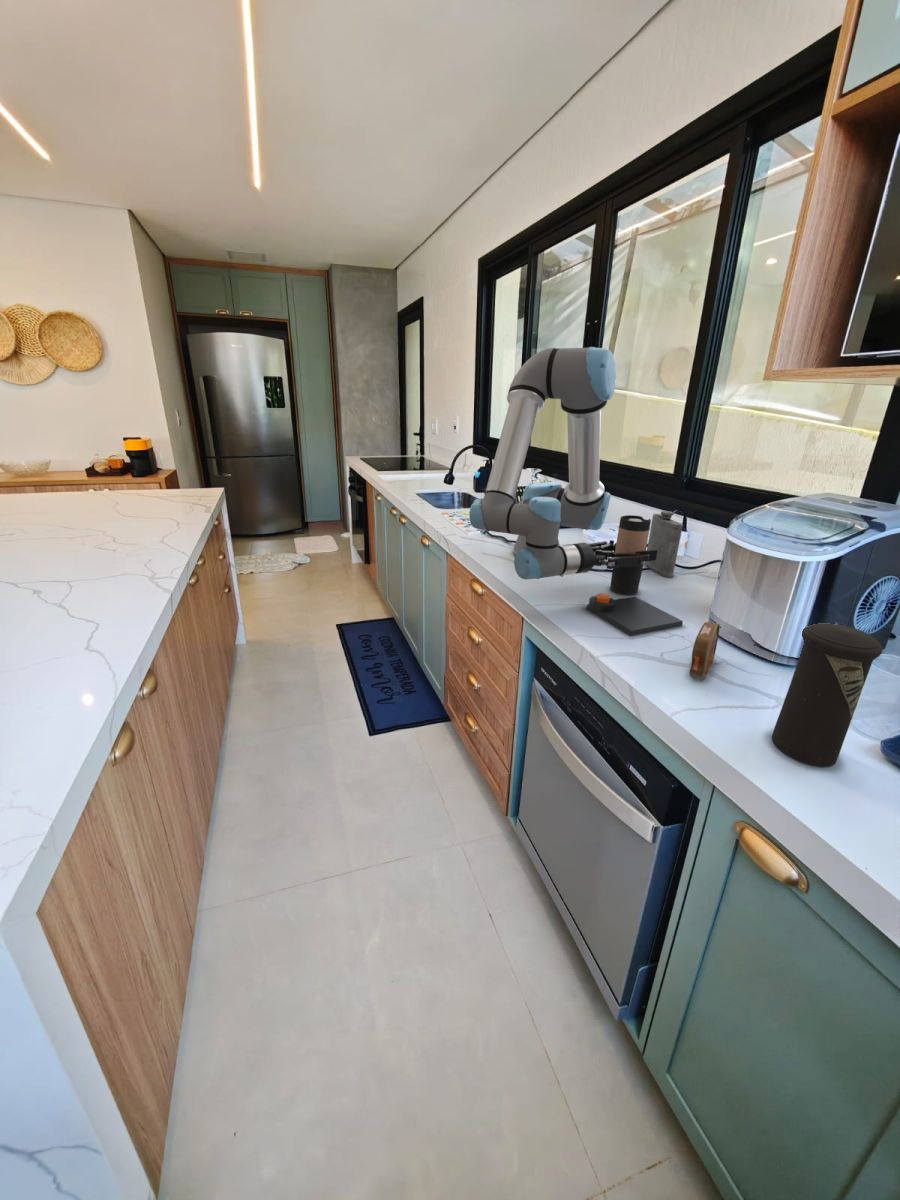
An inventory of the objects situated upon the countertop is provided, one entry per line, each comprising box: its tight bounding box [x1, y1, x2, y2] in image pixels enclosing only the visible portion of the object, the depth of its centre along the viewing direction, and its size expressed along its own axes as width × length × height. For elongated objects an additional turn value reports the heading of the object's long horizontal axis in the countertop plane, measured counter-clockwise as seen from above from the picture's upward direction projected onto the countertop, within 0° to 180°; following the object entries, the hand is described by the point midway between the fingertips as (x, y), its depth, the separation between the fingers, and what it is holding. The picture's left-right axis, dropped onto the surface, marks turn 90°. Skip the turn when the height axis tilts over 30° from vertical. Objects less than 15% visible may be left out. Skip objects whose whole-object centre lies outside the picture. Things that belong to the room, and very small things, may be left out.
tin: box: [688, 621, 720, 681], centre depth 97 cm, size 15×3×8 cm, turn 145°
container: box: [771, 623, 883, 768], centre depth 73 cm, size 9×9×20 cm
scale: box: [586, 595, 684, 637], centre depth 120 cm, size 16×16×3 cm
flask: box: [644, 510, 684, 578], centre depth 151 cm, size 4×14×18 cm, turn 6°
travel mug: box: [609, 514, 652, 596], centre depth 133 cm, size 8×8×20 cm
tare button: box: [595, 593, 611, 604], centre depth 122 cm, size 3×3×2 cm
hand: (644, 550), depth 135 cm, fingers closed on travel mug, 7 cm apart
